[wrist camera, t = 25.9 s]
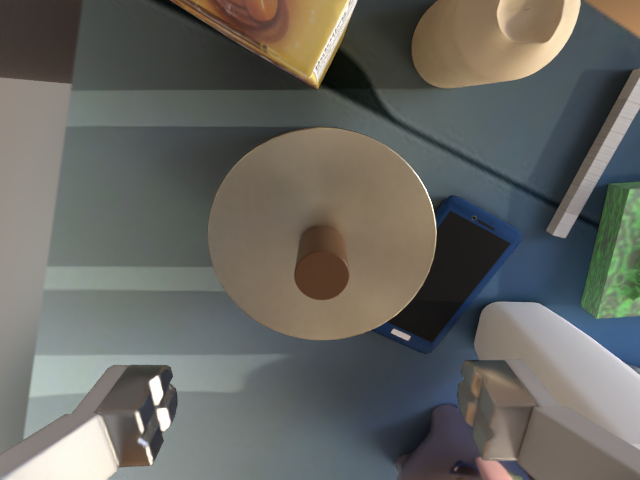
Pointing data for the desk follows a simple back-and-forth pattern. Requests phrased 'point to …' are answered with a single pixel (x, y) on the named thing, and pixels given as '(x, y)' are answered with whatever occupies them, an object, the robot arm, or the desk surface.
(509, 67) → the candle
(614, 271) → the carved green slab
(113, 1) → the desk surface
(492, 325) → the cup
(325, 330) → the tin lid
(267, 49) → the candy box
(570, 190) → the light grey square bar
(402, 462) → the piggy bank
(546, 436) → the robot arm
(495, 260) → the cell phone
